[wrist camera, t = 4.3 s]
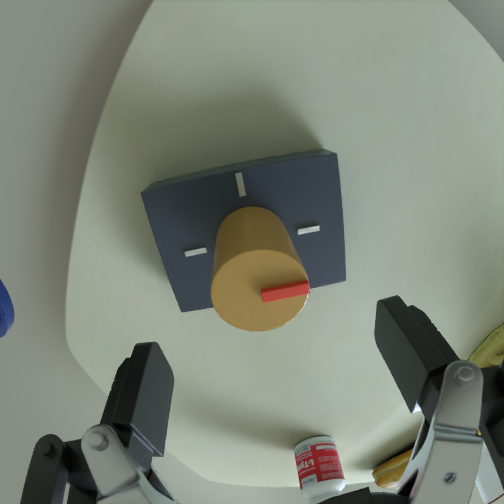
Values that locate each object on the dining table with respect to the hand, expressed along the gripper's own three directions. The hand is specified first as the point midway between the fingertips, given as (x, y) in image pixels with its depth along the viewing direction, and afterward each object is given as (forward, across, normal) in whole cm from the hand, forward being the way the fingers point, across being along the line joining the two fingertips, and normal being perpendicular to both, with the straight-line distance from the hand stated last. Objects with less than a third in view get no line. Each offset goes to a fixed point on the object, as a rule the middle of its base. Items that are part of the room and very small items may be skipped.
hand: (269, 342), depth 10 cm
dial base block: (+12, 0, 0) cm, 12 cm away
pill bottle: (+12, -3, +35) cm, 37 cm away
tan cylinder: (+9, 0, 0) cm, 9 cm away
